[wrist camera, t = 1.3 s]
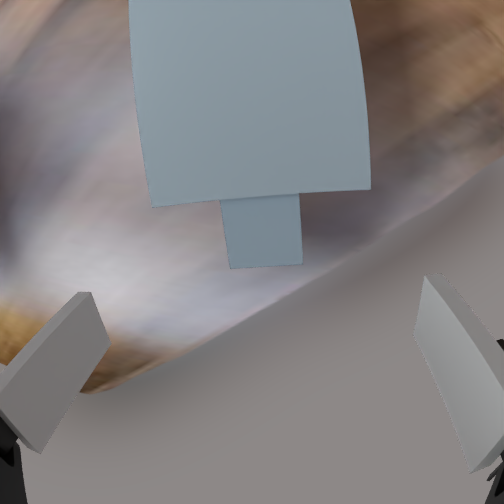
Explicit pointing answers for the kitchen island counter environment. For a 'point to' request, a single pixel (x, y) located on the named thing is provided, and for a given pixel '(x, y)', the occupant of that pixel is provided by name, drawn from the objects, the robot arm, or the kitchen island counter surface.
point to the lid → (250, 112)
